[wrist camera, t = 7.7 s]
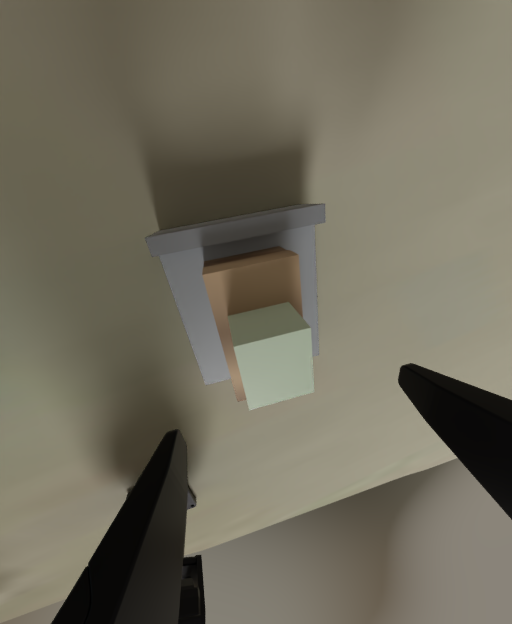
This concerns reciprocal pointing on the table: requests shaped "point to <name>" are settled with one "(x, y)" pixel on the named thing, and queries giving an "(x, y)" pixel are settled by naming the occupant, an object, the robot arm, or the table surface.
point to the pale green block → (273, 354)
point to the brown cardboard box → (250, 292)
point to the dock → (227, 242)
